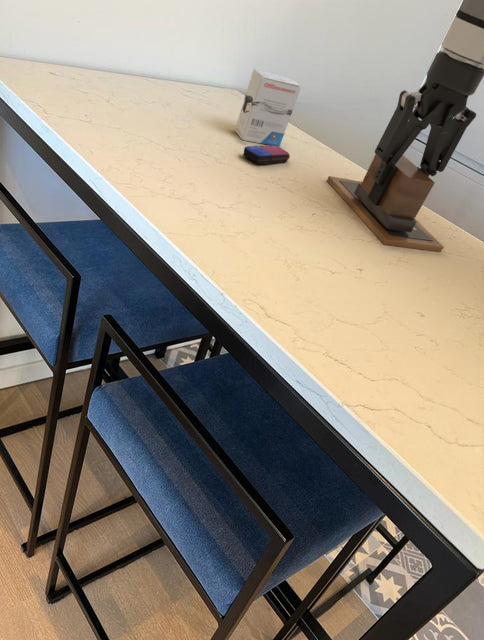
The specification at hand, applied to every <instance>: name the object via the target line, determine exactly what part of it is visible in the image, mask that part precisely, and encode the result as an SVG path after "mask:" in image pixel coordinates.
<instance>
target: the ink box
mask: <svg viewBox="0 0 484 640" xmlns="http://www.w3.org/2000/svg"><path fill="white" fill-rule="evenodd" d="M301 88H302V86H300V84H299V83H297V82H296V81H295V80H294V79H292V78H290V77H287V76H283V75H279V74H275V73H273V72H272V73H271V72H267V71H265V70H260V69H256V68H254V69H252V73H251V77H250V78H249V83H248V85H247V89H246V92H245V96H244V98H243V102H242V105H241V108H240V112H239V115H238V119H237V121H236V125H235V126H234V127H235V128H234V131H235V133H236V134H237V135H238V137H239V138H240V139H241V140H242V141H244V142H251V143H257V144H260V145H261V144H262V145H266V146H267V145H270V146H271V145H275V146H278V147H280V146H281V145H282V141H283V138H284V136H285V133H286V131H287V127H288V124H289V122H290V120H291V116H292V114H293V110H294V109H295V105H296V104H297V100H298V97H299V94H300V91H301Z"/></svg>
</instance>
